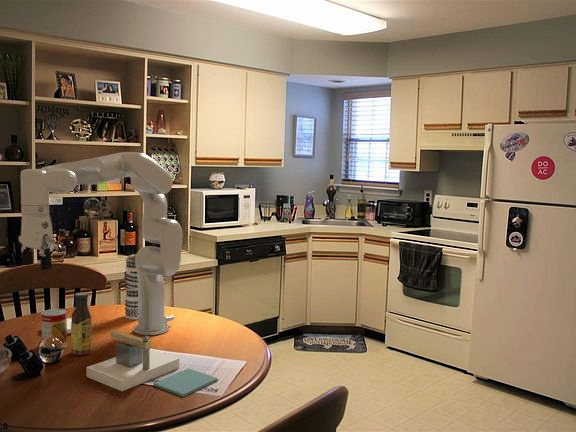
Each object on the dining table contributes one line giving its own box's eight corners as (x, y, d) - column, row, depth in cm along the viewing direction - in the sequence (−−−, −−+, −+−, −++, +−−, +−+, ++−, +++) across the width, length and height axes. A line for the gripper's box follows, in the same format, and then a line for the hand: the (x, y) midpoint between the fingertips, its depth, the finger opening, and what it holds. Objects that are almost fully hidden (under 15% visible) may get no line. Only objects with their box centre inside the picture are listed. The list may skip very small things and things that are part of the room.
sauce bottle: (84, 357, 182) (83, 297, 180) (67, 355, 183) (66, 295, 181) (95, 350, 188) (94, 292, 186) (78, 348, 190) (77, 290, 187)
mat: (188, 370, 173) (188, 368, 173) (217, 380, 167) (217, 378, 167) (153, 385, 162) (153, 383, 162) (183, 397, 155) (183, 394, 155)
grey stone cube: (129, 358, 174) (129, 339, 174) (142, 362, 171) (142, 343, 170) (116, 362, 170) (115, 343, 170) (129, 367, 167) (129, 348, 166)
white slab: (144, 355, 185) (144, 327, 184) (179, 367, 176) (179, 338, 175) (86, 376, 167) (86, 345, 166) (122, 391, 158) (121, 358, 157)
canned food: (72, 344, 193) (71, 310, 192) (55, 351, 186) (55, 316, 185) (53, 341, 196) (52, 307, 195) (36, 348, 189) (35, 313, 187)
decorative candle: (152, 315, 229) (152, 254, 226) (137, 321, 221) (137, 258, 218) (134, 311, 233) (134, 252, 230) (119, 317, 225) (118, 255, 222)
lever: (115, 336, 175) (115, 326, 175) (150, 347, 166) (150, 337, 166) (110, 337, 173) (110, 327, 173) (145, 349, 164) (145, 338, 164)
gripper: (64, 212, 166) (65, 269, 168) (30, 207, 176) (32, 261, 178) (40, 214, 160) (41, 273, 162) (7, 209, 170) (9, 264, 172)
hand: (36, 266), depth 170 cm, fingers open, 9 cm apart
